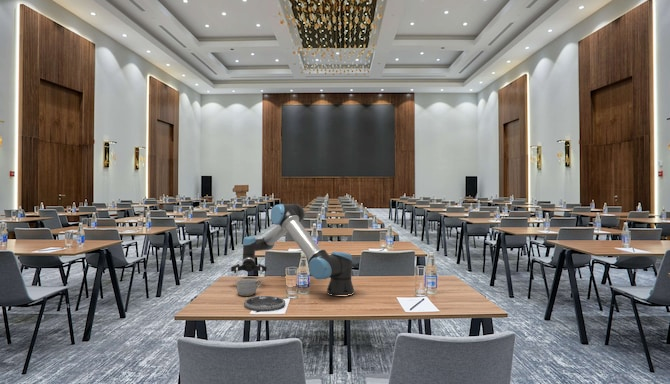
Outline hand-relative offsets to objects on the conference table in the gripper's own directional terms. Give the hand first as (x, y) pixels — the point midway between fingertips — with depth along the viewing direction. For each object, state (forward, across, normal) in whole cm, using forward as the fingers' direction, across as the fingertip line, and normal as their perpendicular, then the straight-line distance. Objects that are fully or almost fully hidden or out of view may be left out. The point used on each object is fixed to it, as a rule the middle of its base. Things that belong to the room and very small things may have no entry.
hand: (249, 271), depth 234 cm
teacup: (+10, 0, -10) cm, 14 cm away
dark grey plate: (+32, -8, -10) cm, 34 cm away
